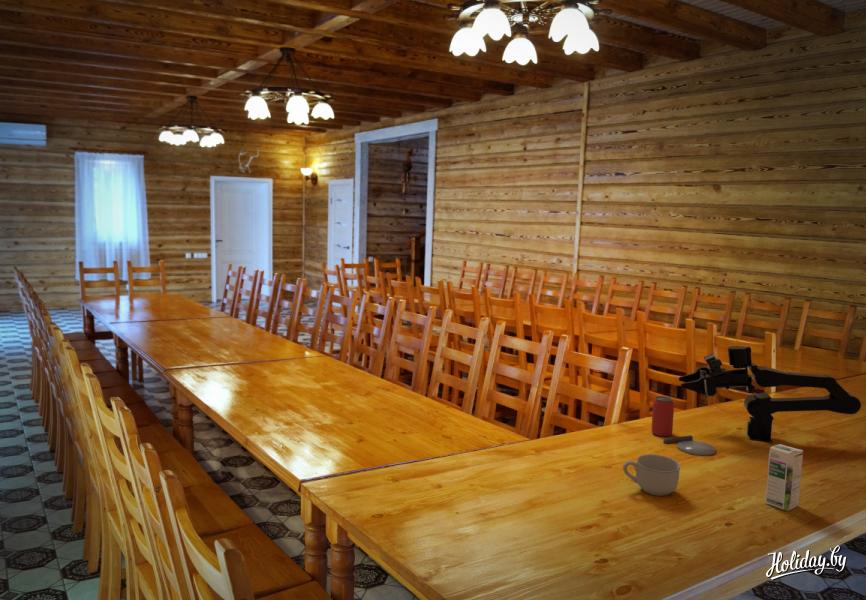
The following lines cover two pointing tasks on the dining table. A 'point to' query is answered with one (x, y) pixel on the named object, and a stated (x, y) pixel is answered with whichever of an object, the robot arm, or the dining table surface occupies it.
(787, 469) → the syrup box
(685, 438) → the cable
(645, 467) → the teacup
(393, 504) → the dining table surface
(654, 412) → the beer can
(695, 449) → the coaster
